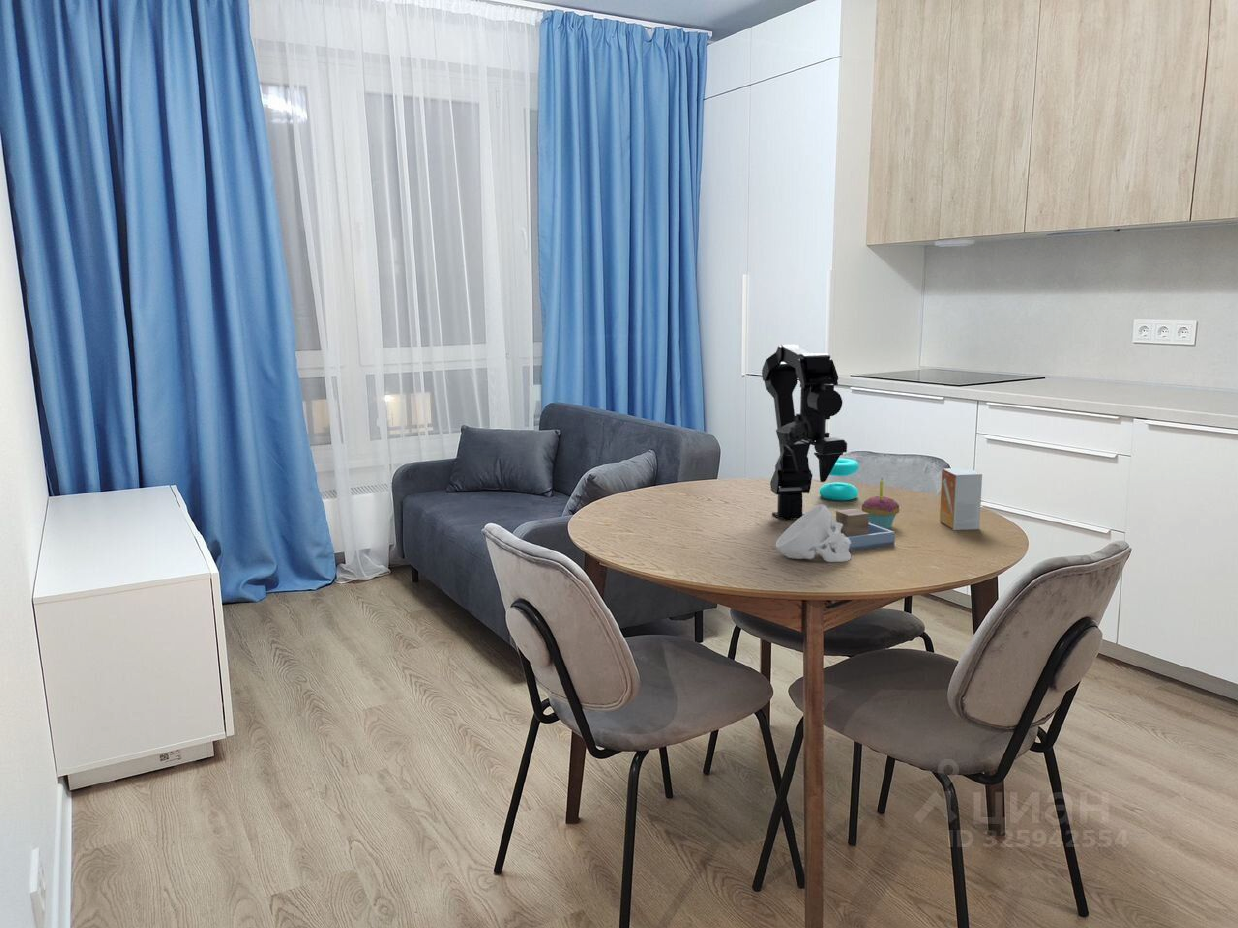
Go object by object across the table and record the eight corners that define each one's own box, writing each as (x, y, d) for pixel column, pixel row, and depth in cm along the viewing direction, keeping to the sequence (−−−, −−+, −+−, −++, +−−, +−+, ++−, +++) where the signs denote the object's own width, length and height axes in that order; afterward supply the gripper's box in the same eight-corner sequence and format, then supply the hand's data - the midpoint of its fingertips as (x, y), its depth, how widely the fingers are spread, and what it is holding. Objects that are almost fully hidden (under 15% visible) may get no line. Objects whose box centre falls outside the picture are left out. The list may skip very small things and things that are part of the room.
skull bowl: (863, 559, 182) (830, 508, 181) (802, 593, 185) (770, 543, 184) (858, 544, 192) (827, 496, 191) (800, 576, 195) (770, 529, 194)
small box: (939, 521, 216) (941, 467, 213) (965, 521, 216) (968, 467, 213) (952, 530, 208) (955, 474, 205) (980, 529, 208) (983, 473, 206)
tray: (810, 539, 202) (810, 526, 202) (862, 532, 207) (862, 520, 206) (840, 552, 192) (841, 538, 191) (894, 545, 196) (894, 531, 196)
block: (835, 537, 201) (836, 510, 200) (854, 534, 202) (855, 508, 201) (848, 542, 196) (849, 515, 195) (868, 540, 198) (868, 513, 197)
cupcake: (900, 531, 207) (902, 480, 205) (862, 530, 209) (863, 479, 207) (896, 522, 216) (898, 473, 213) (860, 521, 217) (861, 472, 215)
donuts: (850, 465, 234) (814, 462, 240) (849, 503, 236) (813, 498, 242) (864, 459, 242) (829, 456, 248) (863, 496, 244) (828, 492, 250)
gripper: (760, 407, 208) (759, 473, 212) (805, 418, 191) (803, 490, 195) (801, 403, 212) (800, 468, 216) (849, 414, 195) (847, 485, 199)
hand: (811, 477), depth 206 cm, fingers open, 9 cm apart
